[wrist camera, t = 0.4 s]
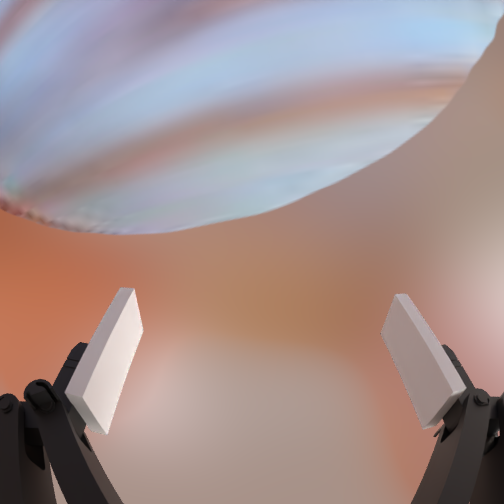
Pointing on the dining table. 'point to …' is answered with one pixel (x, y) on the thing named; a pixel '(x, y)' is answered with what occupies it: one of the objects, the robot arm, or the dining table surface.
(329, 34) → the dining table surface
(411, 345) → the robot arm
